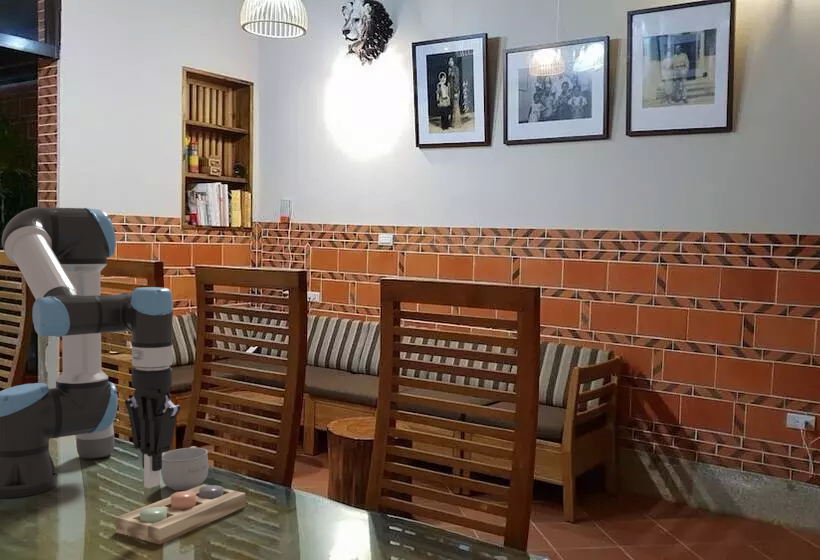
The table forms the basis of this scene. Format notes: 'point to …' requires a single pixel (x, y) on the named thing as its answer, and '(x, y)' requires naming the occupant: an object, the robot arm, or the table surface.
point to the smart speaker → (96, 444)
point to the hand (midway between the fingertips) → (152, 485)
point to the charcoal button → (211, 492)
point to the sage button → (153, 514)
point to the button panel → (179, 516)
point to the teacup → (184, 468)
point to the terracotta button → (183, 500)
